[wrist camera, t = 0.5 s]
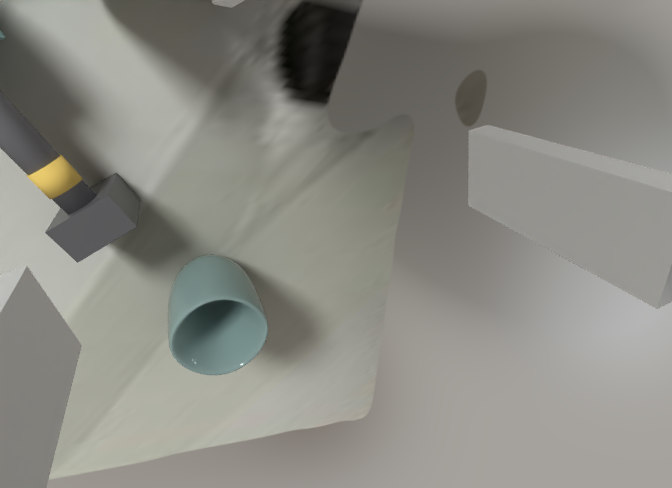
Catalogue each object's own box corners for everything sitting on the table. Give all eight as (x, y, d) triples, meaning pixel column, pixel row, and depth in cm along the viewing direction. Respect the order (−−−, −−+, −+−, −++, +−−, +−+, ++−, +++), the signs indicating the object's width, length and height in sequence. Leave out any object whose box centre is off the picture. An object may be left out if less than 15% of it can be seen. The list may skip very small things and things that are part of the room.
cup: (216, 321, 43) (229, 388, 35) (151, 289, 39) (147, 355, 31) (262, 268, 43) (287, 323, 34) (201, 229, 38) (211, 280, 30)
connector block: (63, 204, 33) (45, 232, 28) (116, 172, 34) (108, 195, 29) (89, 231, 35) (77, 262, 30) (140, 201, 35) (136, 226, 30)
